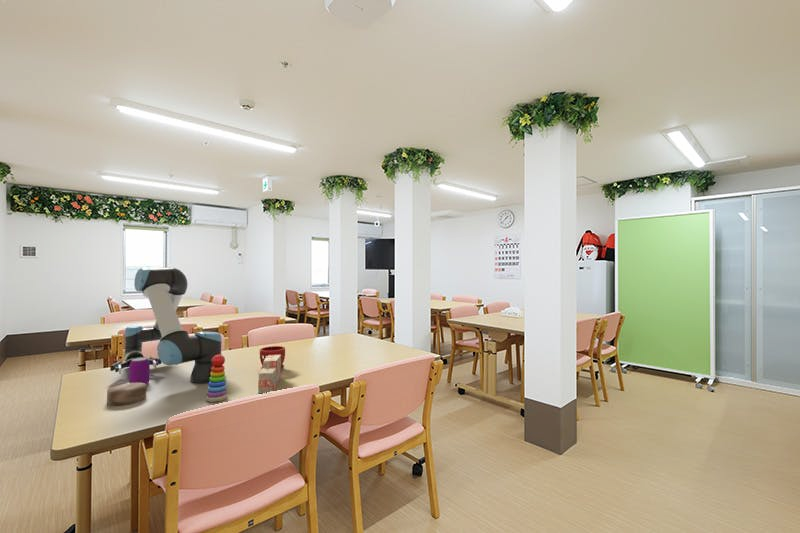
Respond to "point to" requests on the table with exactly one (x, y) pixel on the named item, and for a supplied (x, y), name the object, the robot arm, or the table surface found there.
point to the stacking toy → (217, 380)
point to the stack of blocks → (269, 374)
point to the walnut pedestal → (126, 394)
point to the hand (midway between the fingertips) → (138, 368)
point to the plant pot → (272, 353)
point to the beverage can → (139, 370)
